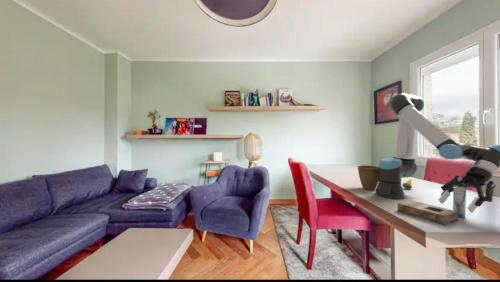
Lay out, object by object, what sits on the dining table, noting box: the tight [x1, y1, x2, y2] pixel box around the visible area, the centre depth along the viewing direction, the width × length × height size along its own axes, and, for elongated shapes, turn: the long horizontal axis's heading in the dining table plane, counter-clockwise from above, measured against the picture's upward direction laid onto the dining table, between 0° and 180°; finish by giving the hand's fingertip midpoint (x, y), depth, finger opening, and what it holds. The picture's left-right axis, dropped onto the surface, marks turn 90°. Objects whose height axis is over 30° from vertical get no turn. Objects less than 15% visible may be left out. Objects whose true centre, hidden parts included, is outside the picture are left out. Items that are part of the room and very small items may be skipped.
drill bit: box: [402, 178, 413, 191], centre depth 143 cm, size 5×5×10 cm
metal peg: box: [452, 186, 467, 219], centre depth 93 cm, size 4×4×14 cm
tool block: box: [397, 199, 459, 226], centre depth 93 cm, size 18×12×4 cm, turn 25°
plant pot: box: [357, 164, 379, 191], centre depth 141 cm, size 15×15×16 cm
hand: (454, 205), depth 92 cm, fingers open, 11 cm apart
